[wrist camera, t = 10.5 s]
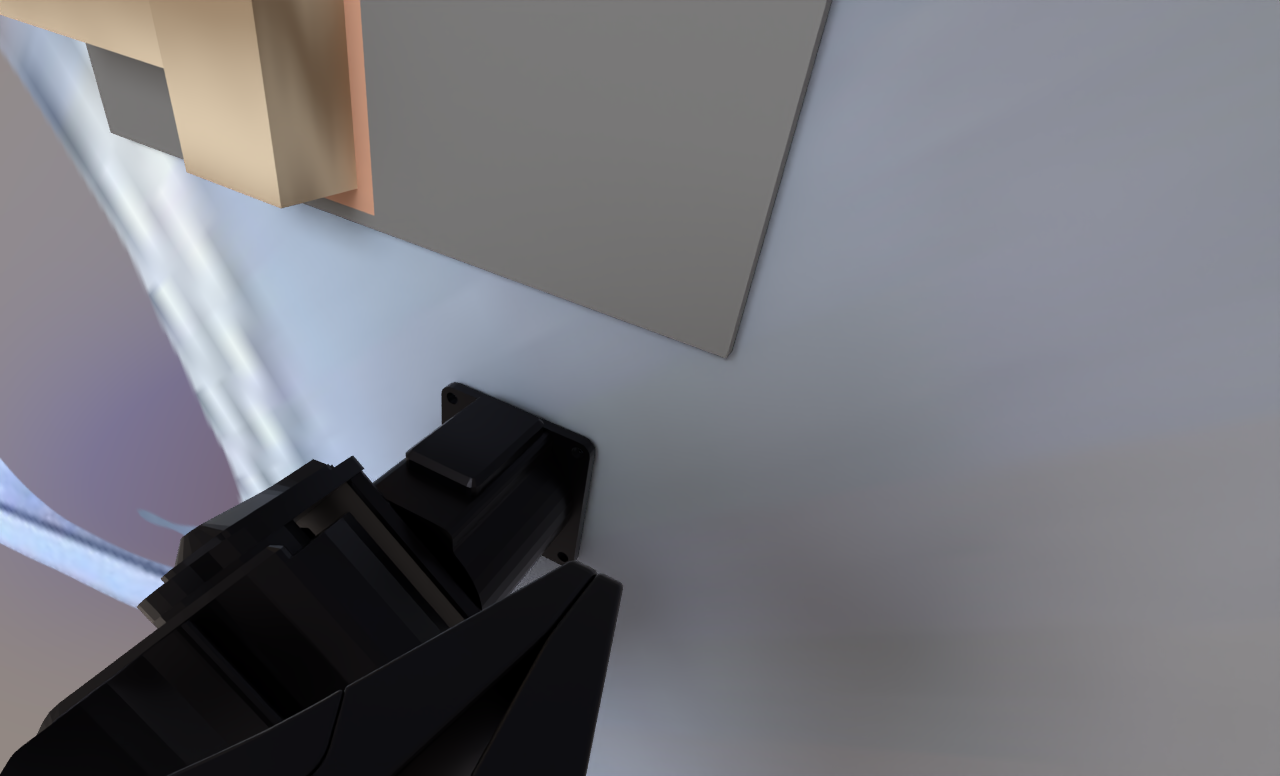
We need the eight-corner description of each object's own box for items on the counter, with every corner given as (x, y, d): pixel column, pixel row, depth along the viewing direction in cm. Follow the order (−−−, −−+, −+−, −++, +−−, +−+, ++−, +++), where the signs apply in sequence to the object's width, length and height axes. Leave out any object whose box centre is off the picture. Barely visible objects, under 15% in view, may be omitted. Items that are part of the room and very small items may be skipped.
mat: (732, 350, 19) (725, 358, 19) (126, 130, 26) (110, 132, 26) (880, -172, 12) (877, -181, 12) (17, -279, 19) (-7, -287, 19)
